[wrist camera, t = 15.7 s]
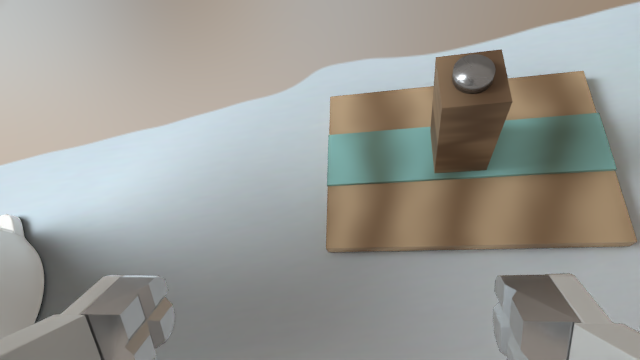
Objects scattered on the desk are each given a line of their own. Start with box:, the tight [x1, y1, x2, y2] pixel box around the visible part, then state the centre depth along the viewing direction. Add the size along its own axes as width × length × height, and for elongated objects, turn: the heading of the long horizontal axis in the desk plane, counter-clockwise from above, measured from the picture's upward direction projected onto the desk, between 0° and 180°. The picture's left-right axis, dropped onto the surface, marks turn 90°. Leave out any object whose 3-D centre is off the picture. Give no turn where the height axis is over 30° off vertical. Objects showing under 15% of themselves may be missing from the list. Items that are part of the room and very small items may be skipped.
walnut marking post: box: [430, 50, 513, 173], centre depth 28 cm, size 4×4×10 cm
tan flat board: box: [326, 71, 637, 252], centre depth 33 cm, size 22×15×2 cm
